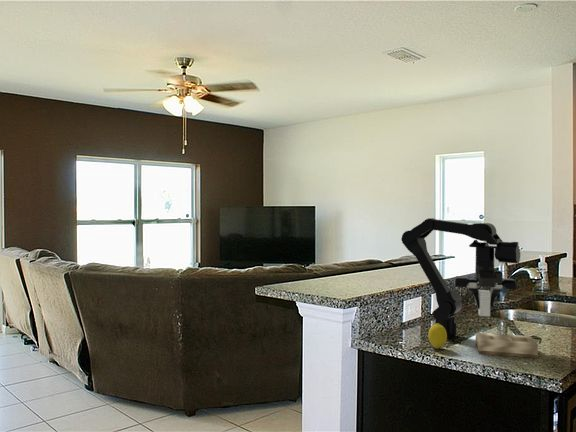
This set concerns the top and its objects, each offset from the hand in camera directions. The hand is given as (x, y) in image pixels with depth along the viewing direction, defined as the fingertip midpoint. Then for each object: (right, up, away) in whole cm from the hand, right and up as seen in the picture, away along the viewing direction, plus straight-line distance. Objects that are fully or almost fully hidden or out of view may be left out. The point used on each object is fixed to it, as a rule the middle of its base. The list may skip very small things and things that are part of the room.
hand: (484, 308), depth 164 cm
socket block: (+2, -11, -11) cm, 16 cm away
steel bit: (0, -2, 0) cm, 2 cm away
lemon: (-18, -11, -9) cm, 23 cm away
